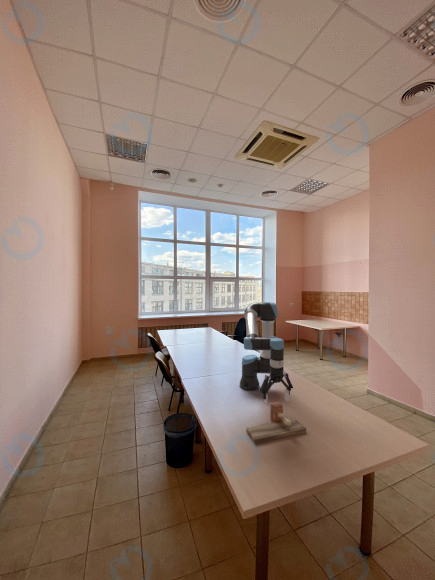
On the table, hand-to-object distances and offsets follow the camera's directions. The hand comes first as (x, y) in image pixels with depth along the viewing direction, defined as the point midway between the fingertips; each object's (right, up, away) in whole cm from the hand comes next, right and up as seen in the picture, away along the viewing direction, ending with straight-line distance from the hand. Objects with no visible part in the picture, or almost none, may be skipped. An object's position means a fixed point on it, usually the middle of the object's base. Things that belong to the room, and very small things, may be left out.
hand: (276, 402), depth 132 cm
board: (-3, -11, -9) cm, 15 cm away
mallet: (+1, -11, -5) cm, 12 cm away
